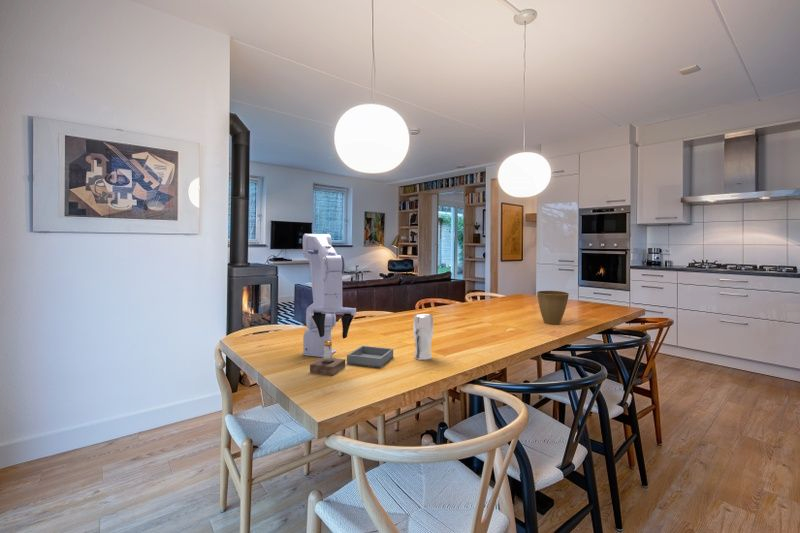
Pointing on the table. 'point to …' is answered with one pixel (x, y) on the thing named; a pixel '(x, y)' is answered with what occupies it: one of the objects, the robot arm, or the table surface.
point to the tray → (370, 356)
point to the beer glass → (423, 336)
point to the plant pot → (552, 305)
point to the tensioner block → (327, 366)
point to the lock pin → (327, 352)
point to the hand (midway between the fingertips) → (333, 337)
